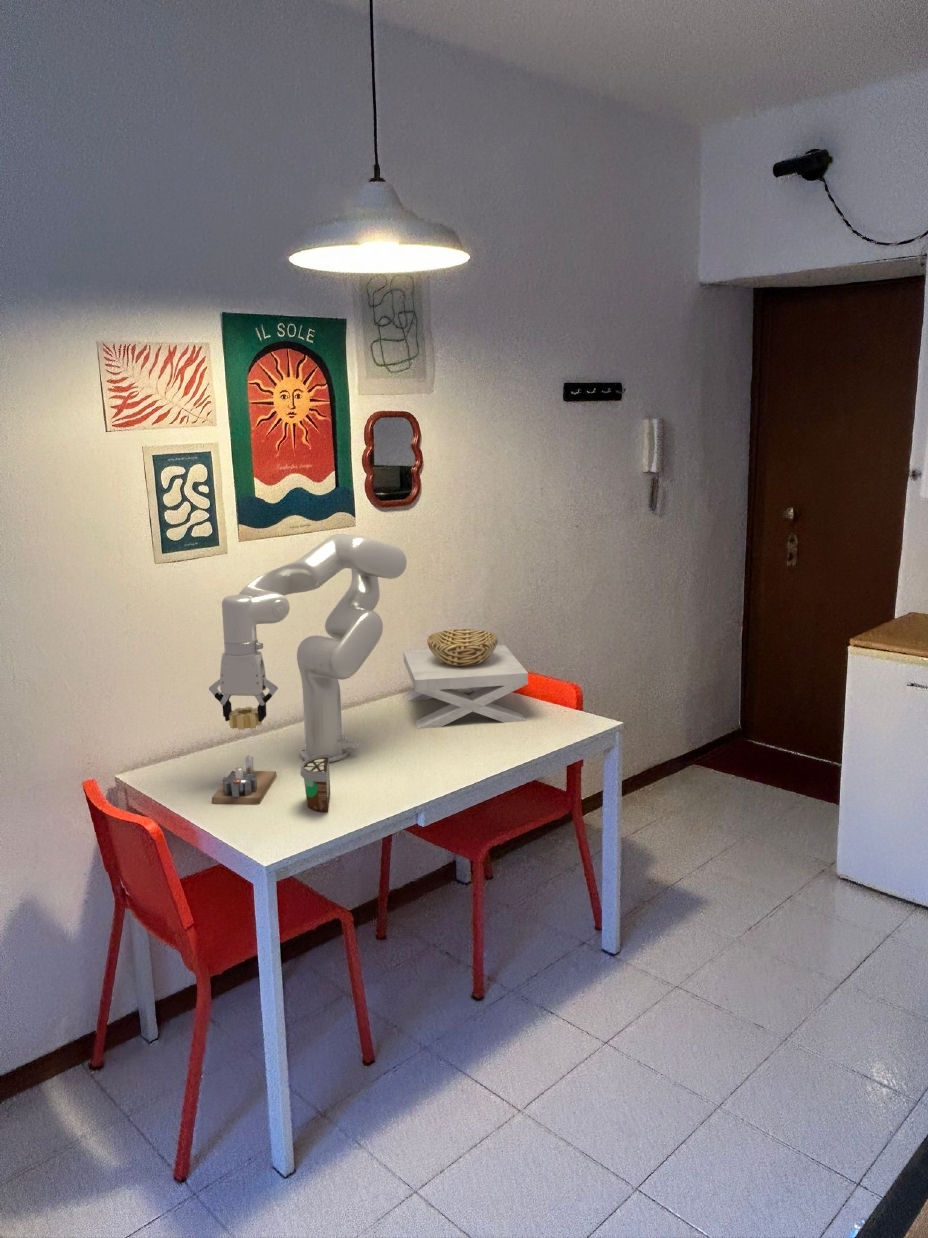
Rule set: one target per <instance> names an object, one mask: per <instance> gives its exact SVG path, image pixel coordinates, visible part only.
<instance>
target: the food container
mask: <svg viewBox="0 0 928 1238" xmlns="http://www.w3.org/2000/svg"><path fill="white" fill-rule="evenodd" d="M300 777H302V778H303V781H304V788H305V789H304V790H305V797H306V805H307V809H309V810H311V811H312V812H317V813H329V811H330V810H329V809H330V803H331V780H330V778H331V775H330V762H329V754H321V755H316V756H313V757H310V758H308V759H306V760H303V762H302V765H301V766H300Z"/></svg>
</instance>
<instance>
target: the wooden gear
mask: <svg viewBox="0 0 928 1238" xmlns="http://www.w3.org/2000/svg"><path fill="white" fill-rule="evenodd" d="M228 722H229V723H228V724H229V728H230V729H232V730H233V729H237V730H240V731H241V730H243V731H244V730H245V729H250V730H252V729H255V728H257V726H261V725H262V722H263V721H262V722H259V721H258V707H255V708H253V706H245V707H242V708H241V707H237V708H234V710H232V711H230V712H229V721H228Z"/></svg>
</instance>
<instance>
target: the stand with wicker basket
mask: <svg viewBox="0 0 928 1238" xmlns="http://www.w3.org/2000/svg"><path fill="white" fill-rule="evenodd" d="M497 644H498V636H497V635H496V634H495V633H492V632H490V631H486V630H481V629H469V628H468V629H466V628H465V629H459V628H458V629H448V630H441V631H438V632H435V633H432V634H431V635H429V636H428V637H427V646H428V649H413V650H412V649H411V650H410V649H409V650H403V655H402V656H403V663H404V665H405V668H406V670H407V673H408V676H409V678H410V681H411V684H412V686H413V689H414V690H413V691H410V692H408V693H406V694H405V696H406V698H407V701H408V702H411V701H412V702H415V701H427V700H428V701H429V700H431V699H436V700H439V701H442V702H445V703H447V704H448V705H446V706H444V707H442V708H439V709H438V710H436V711H433V712H431V713H429V714H427V715H425V716H423V717H422V718H419V719H418V720H416V721H415V724H416V727H417V729H431V728H432V729H434V728H443V727H444V726H446V725H448V724H450V723H452V722H454V721H456V720H458V719H460V718H462V717H465V716H466V715H468V714H470V713H476V714H479V715H480V716H481V715H482V716H485V717H487V718H490V719H493V720H495V721H499V722H502V723H505V724H506V723H518V722H527V720H526V718H525V717H524V716H523V714H522V713H520V712H518V711H517V712H516V711H515V710H511V709H508V708H505V707H504V706H503V707H502V706H500V705H497V704H494V702H495V701H496V700H498V699H501V698H502V697H505V696H506V695H508V694H510V693H513V692H515V691H517V690H519V689H520V688H523V687H525V686H526V685H527V686H528V685H529V673H528V671H527V670H526V669H525V668H524V666H523V665H522V664H521V663H520V662H519V660H518V659H517V658H516V657H515V656H514V654H513V653H512V652H511V651H510V649H509V648H508V647H507V646H506V645H505V644H502V645H497ZM455 689H456V690H455ZM457 689H458V690H459V689H467V690H470V691H473V692H472V693H470V694H466V693H463V692H462V691H458V690H457Z"/></svg>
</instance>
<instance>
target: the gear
mask: <svg viewBox="0 0 928 1238" xmlns="http://www.w3.org/2000/svg"><path fill="white" fill-rule="evenodd" d="M234 771H235V773H234V774H230V773H229V774H230V775H229V774H228V775H227V777H226V776H225V777H223V779H222V784H223V792H224V795H226V796H230V795H232V797H240V796H242V795H244V796H249V795H252V792H256V791H257V777H256V775H254V774H253V773H252V774H247V772H243V771H244V769H243V767H241V766H238V767H235V768H234ZM228 776H229V777H228Z"/></svg>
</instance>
